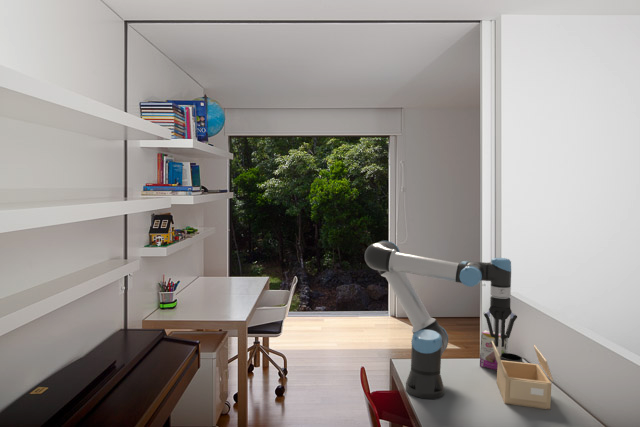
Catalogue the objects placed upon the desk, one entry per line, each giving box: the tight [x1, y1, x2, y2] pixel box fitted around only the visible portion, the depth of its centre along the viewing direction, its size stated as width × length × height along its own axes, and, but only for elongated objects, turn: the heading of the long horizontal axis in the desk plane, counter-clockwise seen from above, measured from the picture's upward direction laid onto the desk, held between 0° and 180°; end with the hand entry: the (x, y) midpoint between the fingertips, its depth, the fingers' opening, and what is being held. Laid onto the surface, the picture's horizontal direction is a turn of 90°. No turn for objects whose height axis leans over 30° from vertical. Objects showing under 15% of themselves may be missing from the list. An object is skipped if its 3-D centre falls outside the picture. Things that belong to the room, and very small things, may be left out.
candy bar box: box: [479, 329, 509, 371], centre depth 209 cm, size 11×5×16 cm, turn 58°
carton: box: [496, 360, 552, 410], centre depth 180 cm, size 16×22×10 cm
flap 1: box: [492, 341, 505, 376], centre depth 182 cm, size 8×19×1 cm
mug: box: [500, 352, 525, 363], centre depth 199 cm, size 9×12×9 cm
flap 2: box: [533, 344, 554, 383], centre depth 178 cm, size 8×19×1 cm
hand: (499, 354), depth 182 cm, fingers closed
